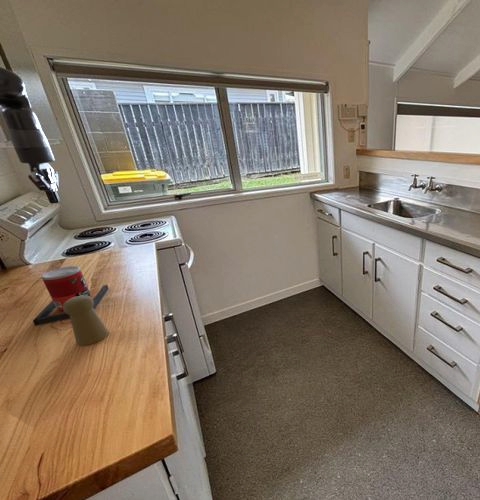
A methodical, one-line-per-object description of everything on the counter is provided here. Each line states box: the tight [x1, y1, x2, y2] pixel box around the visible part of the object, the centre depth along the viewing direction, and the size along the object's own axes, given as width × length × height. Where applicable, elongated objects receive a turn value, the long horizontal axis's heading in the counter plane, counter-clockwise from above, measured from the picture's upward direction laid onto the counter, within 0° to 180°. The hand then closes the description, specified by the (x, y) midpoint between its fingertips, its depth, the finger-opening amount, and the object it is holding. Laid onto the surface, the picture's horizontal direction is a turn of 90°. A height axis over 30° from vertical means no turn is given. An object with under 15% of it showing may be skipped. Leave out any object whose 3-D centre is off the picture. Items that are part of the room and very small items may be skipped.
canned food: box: [41, 265, 93, 313], centre depth 81 cm, size 8×8×11 cm
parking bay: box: [32, 284, 110, 326], centre depth 83 cm, size 12×16×2 cm
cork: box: [63, 295, 110, 347], centre depth 67 cm, size 6×6×11 cm
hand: (55, 202), depth 91 cm, fingers closed
